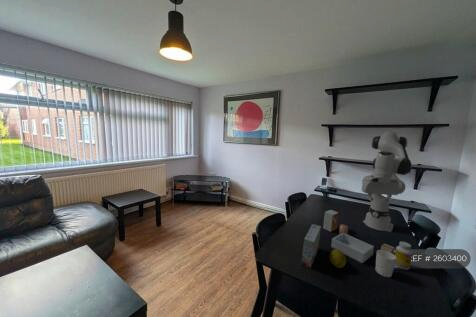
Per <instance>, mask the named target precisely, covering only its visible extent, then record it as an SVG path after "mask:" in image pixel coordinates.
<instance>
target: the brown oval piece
mask: <svg viewBox="0 0 476 317" xmlns="http://www.w3.org/2000/svg"><path fill="white" fill-rule="evenodd" d="M348 230H349V226H348V225H346V224H343V223H342V224H340V225H339V231H338V235H340V234H342V233H345V234H347V235H348V233H349V231H348Z"/></svg>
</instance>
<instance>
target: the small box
mask: <svg viewBox="0 0 476 317" xmlns="http://www.w3.org/2000/svg"><path fill="white" fill-rule="evenodd" d="M338 223H339V212H337V211H336V210H332V209H329V210H327V211H324V217H323V227H322V229H323V230H326V231H328V232H330V233H331V232H334V231H336V230H337V229H338Z"/></svg>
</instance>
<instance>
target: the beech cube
mask: <svg viewBox="0 0 476 317" xmlns="http://www.w3.org/2000/svg"><path fill="white" fill-rule="evenodd" d="M380 250H385V251H388V252H390V253H392V254H393V255H395V253H394V252H395V247H394V246H391V245H389V244H386V243H383V244H382V245H380Z"/></svg>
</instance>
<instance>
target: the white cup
mask: <svg viewBox="0 0 476 317" xmlns="http://www.w3.org/2000/svg"><path fill="white" fill-rule="evenodd" d="M395 262H396V256H395V254H392V253H390V252H388V251H385V250H381V249H378V250H376V256H375V269H374V270H375V272H376V273H377V274H379V275H381V276H382V277H386V278H391V277H392V276H393V272H394V269H395V266H396V265H395Z"/></svg>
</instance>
